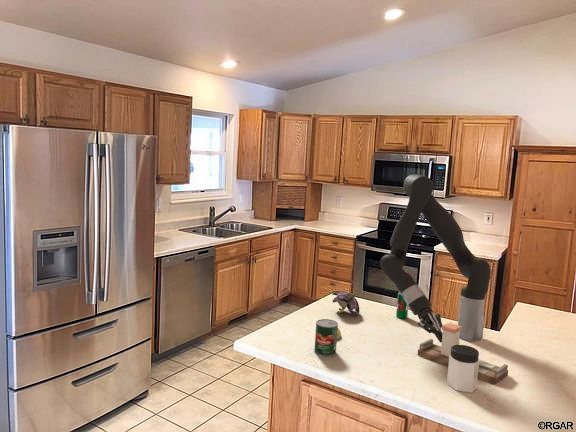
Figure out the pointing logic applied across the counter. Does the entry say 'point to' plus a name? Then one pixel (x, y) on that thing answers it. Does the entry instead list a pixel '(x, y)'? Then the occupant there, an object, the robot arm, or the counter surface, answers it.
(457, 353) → the jar
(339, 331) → the bread roll
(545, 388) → the counter surface
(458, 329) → the fader knob
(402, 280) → the robot arm
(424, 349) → the fader console
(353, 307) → the bird figurine
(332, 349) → the canned tomato
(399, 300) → the soda can
